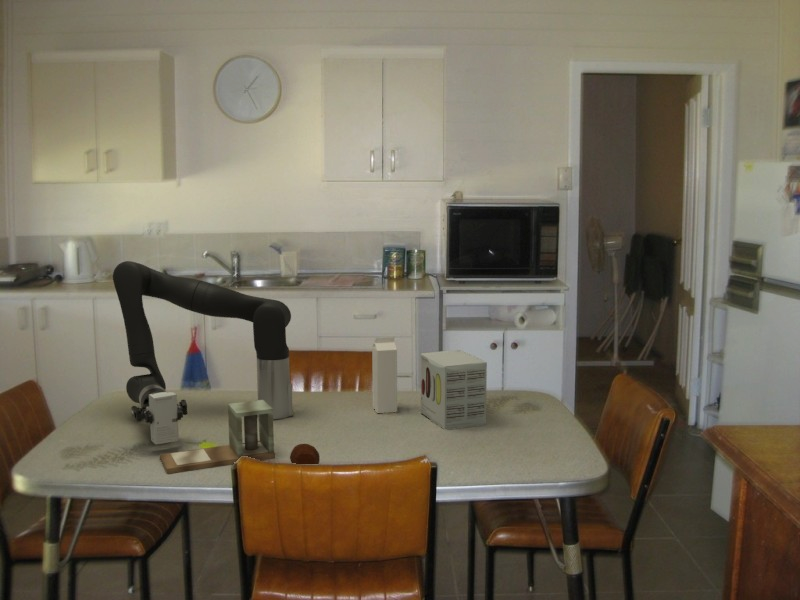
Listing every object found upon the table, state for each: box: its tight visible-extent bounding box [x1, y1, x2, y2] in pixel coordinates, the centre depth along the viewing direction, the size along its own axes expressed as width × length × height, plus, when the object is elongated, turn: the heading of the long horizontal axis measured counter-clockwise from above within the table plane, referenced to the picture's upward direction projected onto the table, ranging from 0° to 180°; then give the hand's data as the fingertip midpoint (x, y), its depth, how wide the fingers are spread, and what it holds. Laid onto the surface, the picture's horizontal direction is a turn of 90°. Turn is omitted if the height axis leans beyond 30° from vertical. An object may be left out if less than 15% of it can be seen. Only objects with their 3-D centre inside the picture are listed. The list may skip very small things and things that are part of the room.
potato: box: [289, 443, 320, 464], centre depth 195 cm, size 7×9×6 cm
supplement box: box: [420, 349, 488, 430], centre depth 234 cm, size 17×13×18 cm
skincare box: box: [149, 390, 180, 445], centre depth 207 cm, size 6×4×12 cm
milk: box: [371, 336, 398, 414], centre depth 242 cm, size 6×6×22 cm
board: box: [159, 399, 276, 475], centre depth 202 cm, size 26×11×12 cm, turn 115°
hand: (165, 417), depth 205 cm, fingers closed on skincare box, 6 cm apart
